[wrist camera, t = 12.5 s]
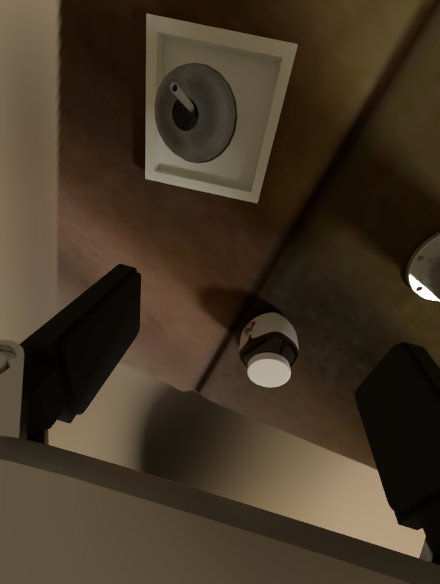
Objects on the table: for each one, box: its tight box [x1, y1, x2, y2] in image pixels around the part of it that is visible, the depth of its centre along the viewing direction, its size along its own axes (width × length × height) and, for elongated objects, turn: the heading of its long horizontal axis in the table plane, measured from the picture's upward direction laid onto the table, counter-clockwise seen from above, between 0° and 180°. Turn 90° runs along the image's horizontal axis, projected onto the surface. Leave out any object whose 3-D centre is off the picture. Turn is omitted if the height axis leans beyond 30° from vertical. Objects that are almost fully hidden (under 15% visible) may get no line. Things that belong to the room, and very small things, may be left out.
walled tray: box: [145, 13, 298, 203], centre depth 31 cm, size 16×16×3 cm
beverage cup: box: [155, 63, 237, 163], centre depth 23 cm, size 7×7×20 cm
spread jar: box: [239, 312, 298, 387], centre depth 45 cm, size 12×11×12 cm
